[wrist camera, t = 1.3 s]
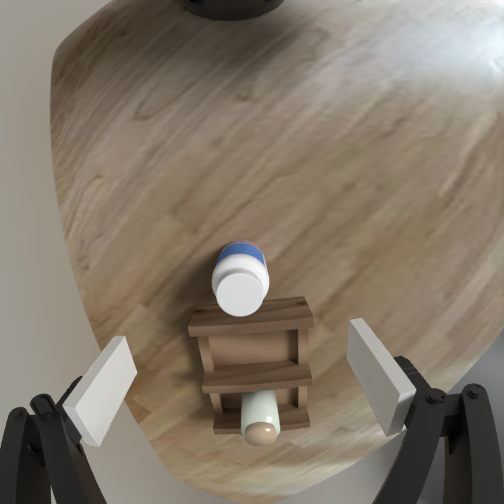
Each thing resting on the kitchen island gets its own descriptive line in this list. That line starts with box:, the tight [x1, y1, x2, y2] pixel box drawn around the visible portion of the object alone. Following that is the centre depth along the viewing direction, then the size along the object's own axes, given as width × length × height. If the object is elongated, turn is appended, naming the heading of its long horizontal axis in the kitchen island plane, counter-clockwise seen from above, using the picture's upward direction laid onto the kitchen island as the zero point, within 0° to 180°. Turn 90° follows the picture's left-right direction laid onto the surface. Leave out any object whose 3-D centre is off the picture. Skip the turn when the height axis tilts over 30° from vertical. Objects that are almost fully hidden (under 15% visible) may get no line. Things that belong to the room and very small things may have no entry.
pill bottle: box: [212, 240, 269, 316], centre depth 28 cm, size 6×5×10 cm
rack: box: [188, 297, 313, 434], centre depth 33 cm, size 18×13×6 cm
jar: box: [241, 390, 280, 446], centre depth 31 cm, size 5×5×9 cm
